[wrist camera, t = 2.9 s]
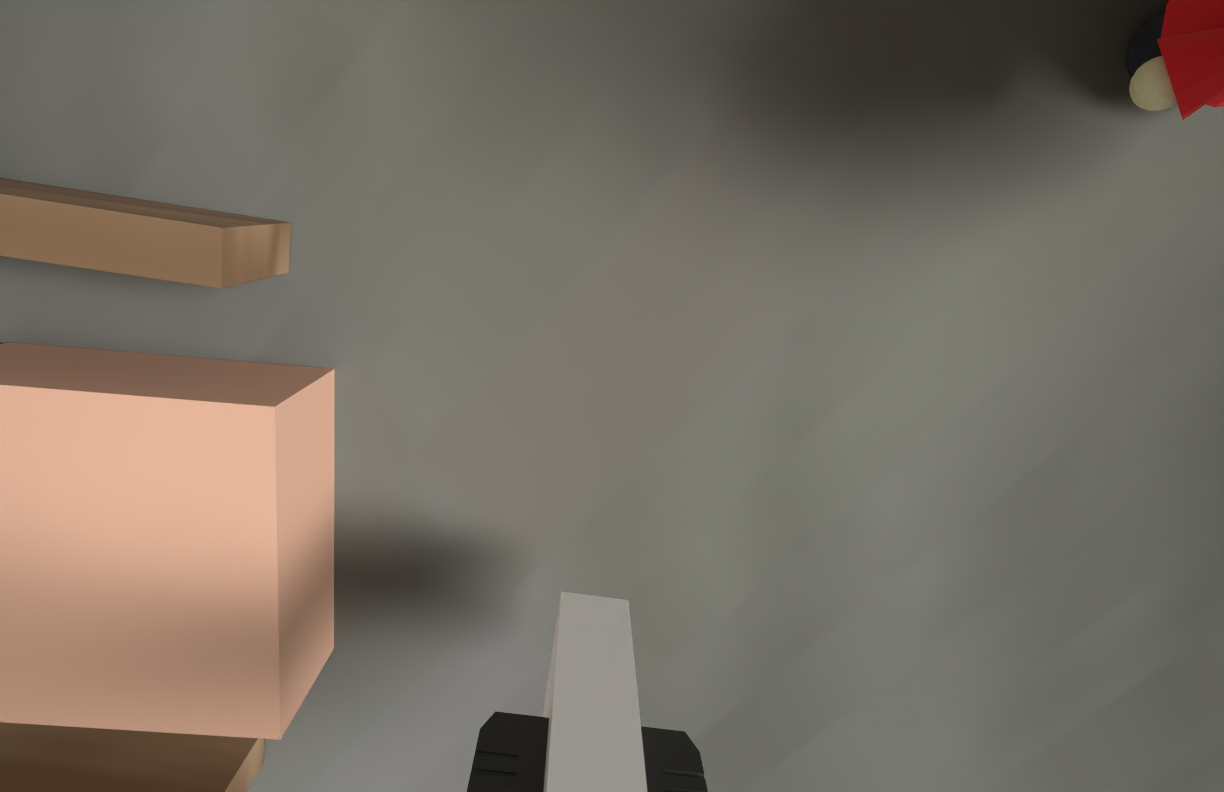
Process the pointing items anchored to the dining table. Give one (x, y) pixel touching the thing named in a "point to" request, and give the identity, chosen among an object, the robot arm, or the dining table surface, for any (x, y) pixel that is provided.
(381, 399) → the dining table surface
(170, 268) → the wooden tray frame
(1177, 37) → the toy
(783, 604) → the dining table surface
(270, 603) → the block
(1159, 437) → the dining table surface
